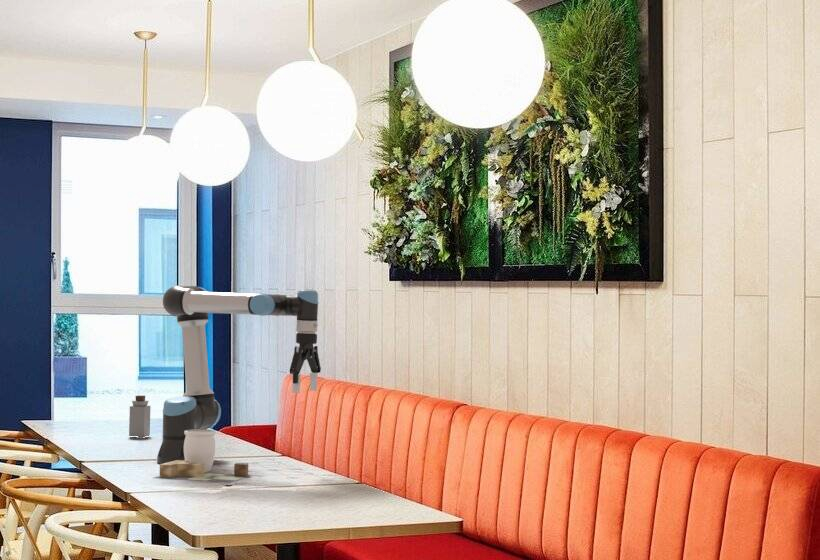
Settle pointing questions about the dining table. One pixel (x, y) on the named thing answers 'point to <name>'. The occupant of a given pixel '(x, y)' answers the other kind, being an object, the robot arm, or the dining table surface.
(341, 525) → the dining table surface
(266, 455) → the dining table surface
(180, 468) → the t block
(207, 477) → the mat
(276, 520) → the dining table surface
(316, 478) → the dining table surface
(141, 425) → the perfume bottle
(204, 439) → the jar
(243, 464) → the walnut cube
